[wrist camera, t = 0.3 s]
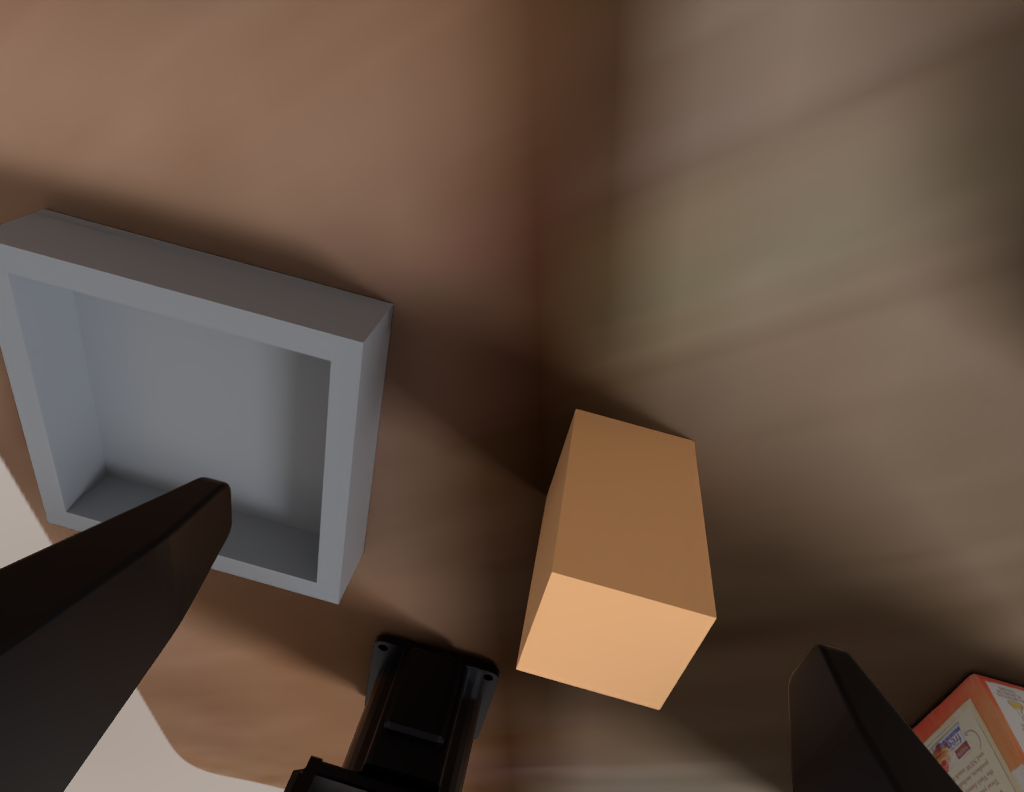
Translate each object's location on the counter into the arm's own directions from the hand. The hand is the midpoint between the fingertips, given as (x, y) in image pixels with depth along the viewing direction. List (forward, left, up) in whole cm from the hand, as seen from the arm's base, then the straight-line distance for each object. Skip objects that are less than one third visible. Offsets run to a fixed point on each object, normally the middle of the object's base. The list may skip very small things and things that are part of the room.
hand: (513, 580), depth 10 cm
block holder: (-10, +12, -13) cm, 21 cm away
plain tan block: (-8, -4, -13) cm, 16 cm away
